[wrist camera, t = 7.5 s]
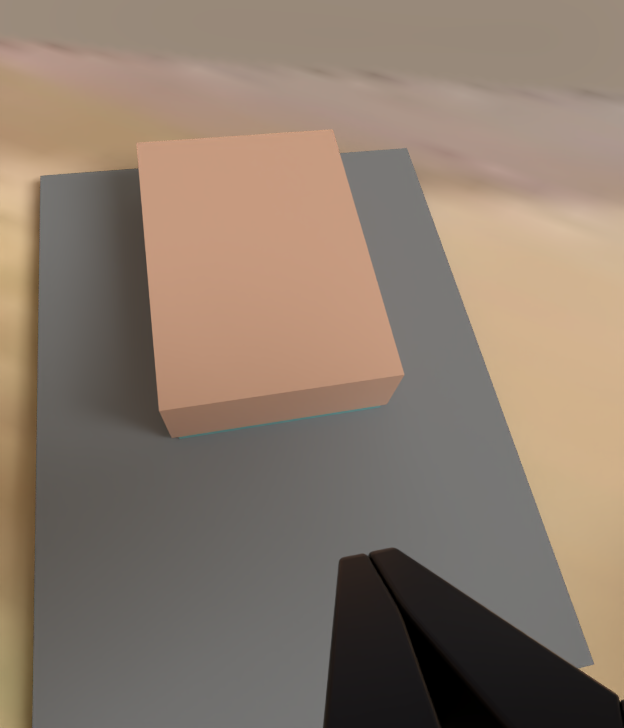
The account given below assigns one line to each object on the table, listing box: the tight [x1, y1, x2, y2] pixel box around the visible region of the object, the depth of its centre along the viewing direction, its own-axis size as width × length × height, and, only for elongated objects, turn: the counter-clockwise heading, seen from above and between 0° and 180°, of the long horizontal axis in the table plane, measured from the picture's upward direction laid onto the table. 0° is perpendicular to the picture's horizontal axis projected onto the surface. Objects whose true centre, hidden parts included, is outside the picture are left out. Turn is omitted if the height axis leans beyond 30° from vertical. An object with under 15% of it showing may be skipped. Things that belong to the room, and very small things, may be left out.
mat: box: [32, 148, 594, 728], centre depth 18 cm, size 20×15×1 cm
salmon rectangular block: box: [136, 129, 404, 439], centre depth 18 cm, size 3×7×10 cm
